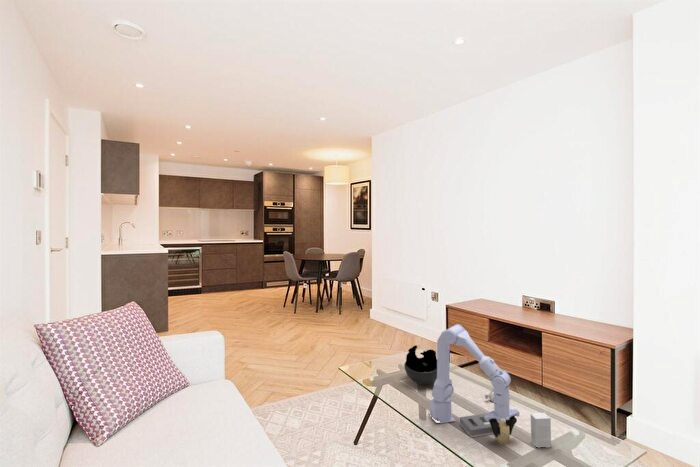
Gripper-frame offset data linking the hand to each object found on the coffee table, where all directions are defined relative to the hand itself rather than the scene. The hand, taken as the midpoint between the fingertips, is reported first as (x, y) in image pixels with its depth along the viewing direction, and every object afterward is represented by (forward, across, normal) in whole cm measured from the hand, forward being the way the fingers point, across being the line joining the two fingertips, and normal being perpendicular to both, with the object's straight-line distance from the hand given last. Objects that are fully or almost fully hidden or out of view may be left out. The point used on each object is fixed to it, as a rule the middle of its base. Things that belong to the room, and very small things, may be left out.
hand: (502, 434), depth 150 cm
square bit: (+2, 0, 0) cm, 2 cm away
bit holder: (+2, -3, +10) cm, 11 cm away
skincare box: (+3, +13, -6) cm, 15 cm away
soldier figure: (+3, +16, +29) cm, 33 cm away
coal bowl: (+3, -12, +56) cm, 57 cm away
